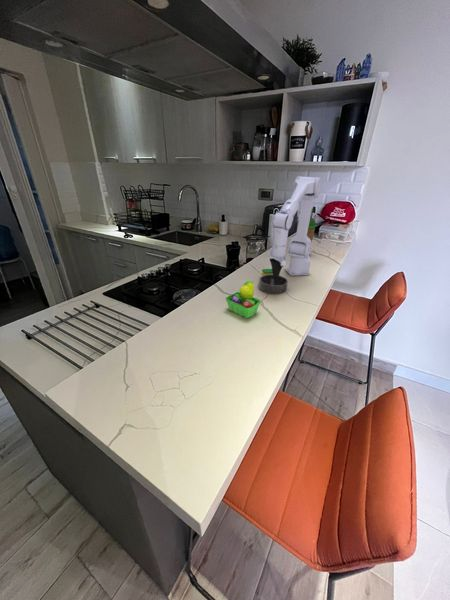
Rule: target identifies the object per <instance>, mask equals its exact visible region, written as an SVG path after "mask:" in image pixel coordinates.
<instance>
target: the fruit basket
mask: <svg viewBox="0 0 450 600" xmlns="http://www.w3.org/2000/svg"><path fill="white" fill-rule="evenodd" d="M238 290H239V291H237V292H235V293H232V294H230V295H228V296H226V297H225V300H226V303H227V307H228V309H229V311H231V312H233V313H235V314H238V315H239V316H242V317H244V318H246V319H249V318H250V317H252V316H254V315H255V314H257V311H258V308H259V307H260V305H261V302H262V301H261V300H260V299H257V298H255V297H254V294H255V284H254V283H253V281H251V280H246V281H245V282H244V283H243V285H242V286H241V287H240V288H239V289H238Z"/></svg>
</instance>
